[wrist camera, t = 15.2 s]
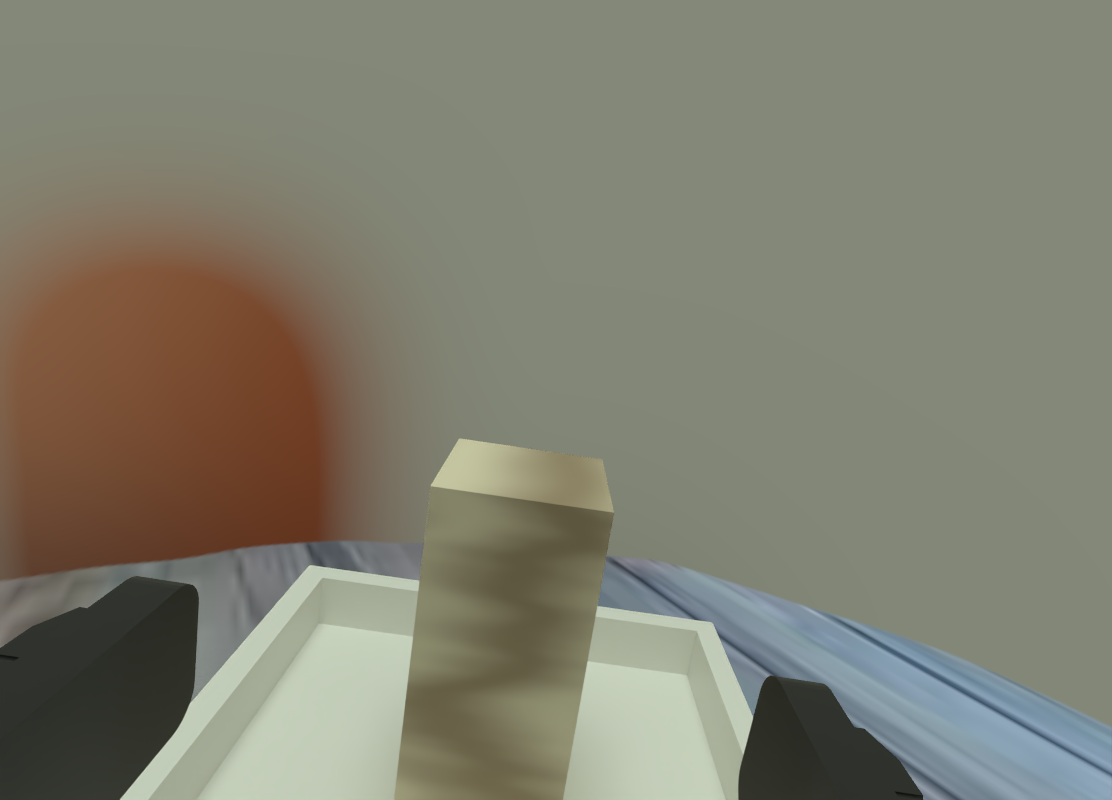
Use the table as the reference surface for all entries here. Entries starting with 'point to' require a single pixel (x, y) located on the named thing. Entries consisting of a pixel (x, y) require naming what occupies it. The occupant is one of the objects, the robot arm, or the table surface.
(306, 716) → the tray
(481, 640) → the block
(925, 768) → the table surface
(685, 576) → the table surface
